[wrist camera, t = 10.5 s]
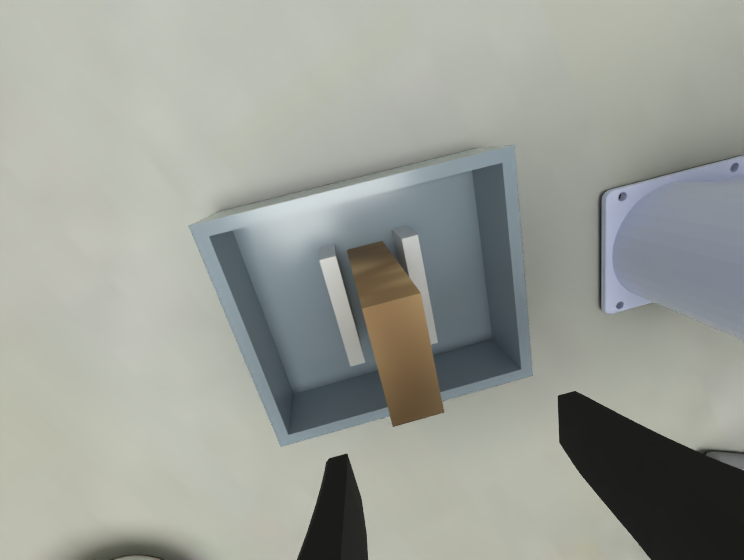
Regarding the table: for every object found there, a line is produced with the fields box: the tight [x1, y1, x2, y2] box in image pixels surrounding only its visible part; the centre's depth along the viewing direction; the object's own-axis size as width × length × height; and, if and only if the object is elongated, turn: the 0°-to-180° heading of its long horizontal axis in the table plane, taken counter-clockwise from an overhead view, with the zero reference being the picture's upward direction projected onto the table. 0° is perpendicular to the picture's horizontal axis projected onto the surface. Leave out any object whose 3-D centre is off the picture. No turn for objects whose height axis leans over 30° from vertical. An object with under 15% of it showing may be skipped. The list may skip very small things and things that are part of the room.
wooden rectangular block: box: [347, 241, 444, 427], centre depth 16 cm, size 2×5×8 cm, turn 13°
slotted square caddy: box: [189, 145, 533, 447], centre depth 18 cm, size 14×12×4 cm
